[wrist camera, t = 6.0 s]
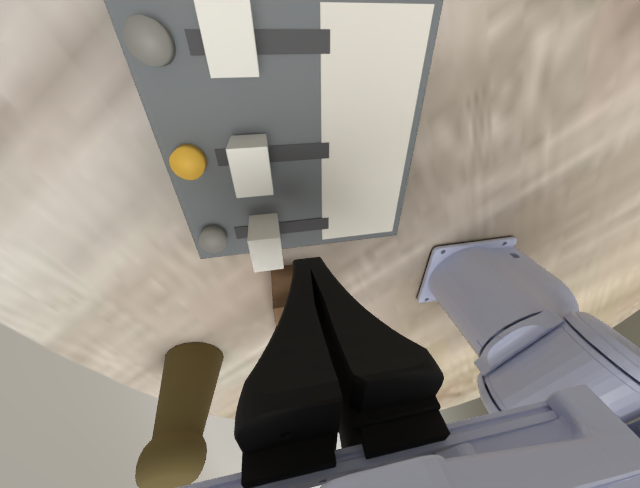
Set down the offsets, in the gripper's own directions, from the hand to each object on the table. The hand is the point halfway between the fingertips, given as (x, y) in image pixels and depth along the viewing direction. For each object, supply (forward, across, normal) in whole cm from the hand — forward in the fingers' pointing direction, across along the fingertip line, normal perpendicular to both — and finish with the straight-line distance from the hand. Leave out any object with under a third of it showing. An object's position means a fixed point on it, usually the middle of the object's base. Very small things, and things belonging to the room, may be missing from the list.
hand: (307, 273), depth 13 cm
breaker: (+7, +2, -4) cm, 8 cm away
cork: (+9, +12, +19) cm, 24 cm away
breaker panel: (+9, -1, -4) cm, 10 cm away
